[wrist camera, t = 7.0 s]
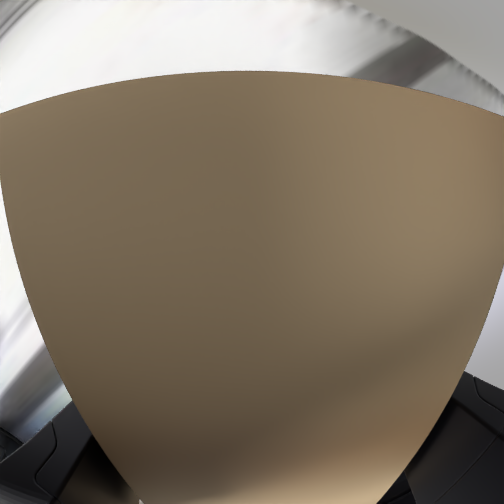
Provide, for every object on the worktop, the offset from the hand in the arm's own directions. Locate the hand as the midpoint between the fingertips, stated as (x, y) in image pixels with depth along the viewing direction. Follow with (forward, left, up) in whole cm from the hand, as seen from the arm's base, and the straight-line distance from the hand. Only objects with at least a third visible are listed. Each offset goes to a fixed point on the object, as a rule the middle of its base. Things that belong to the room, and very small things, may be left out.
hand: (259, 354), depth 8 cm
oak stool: (0, 0, -2) cm, 2 cm away
